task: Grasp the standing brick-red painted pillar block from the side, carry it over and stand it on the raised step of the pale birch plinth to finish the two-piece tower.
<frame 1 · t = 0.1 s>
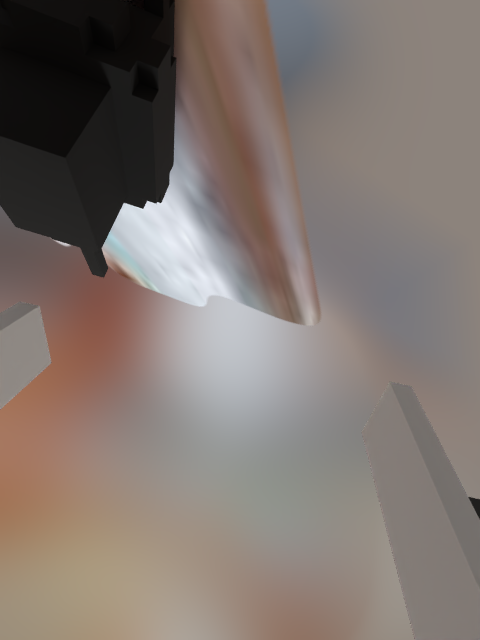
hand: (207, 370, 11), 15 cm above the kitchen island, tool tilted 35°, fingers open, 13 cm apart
toy: (128, 109, 19), on the kitchen island
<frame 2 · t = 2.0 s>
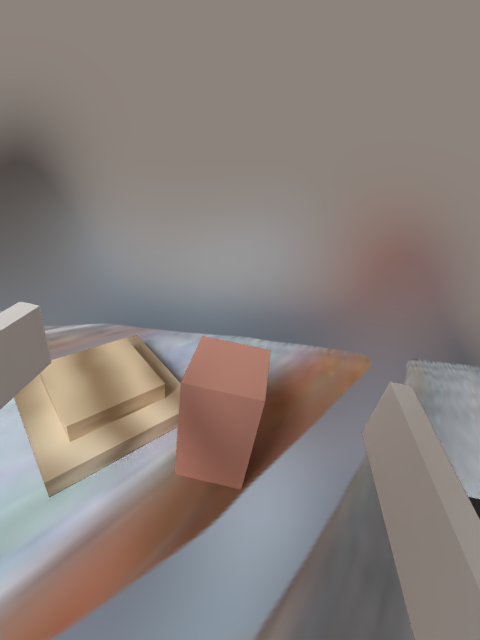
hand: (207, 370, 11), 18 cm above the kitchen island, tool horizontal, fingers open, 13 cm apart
plinth: (104, 402, 32), on the kitchen island
pillar: (215, 452, 29), on the kitchen island
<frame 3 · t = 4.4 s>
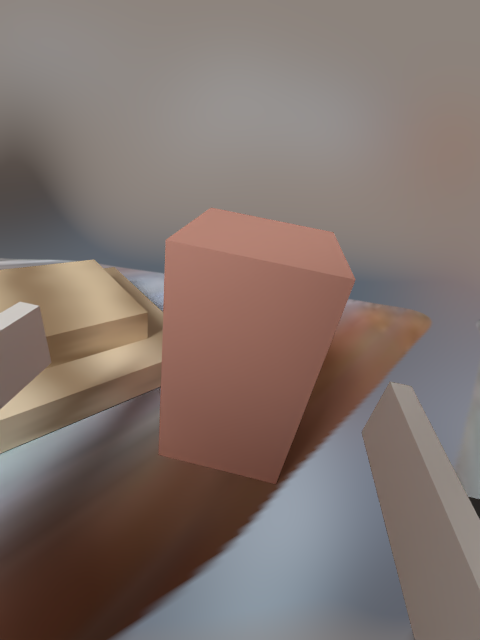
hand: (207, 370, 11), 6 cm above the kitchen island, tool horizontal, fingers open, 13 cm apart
plinth: (54, 346, 20), on the kitchen island
pillar: (228, 422, 18), on the kitchen island
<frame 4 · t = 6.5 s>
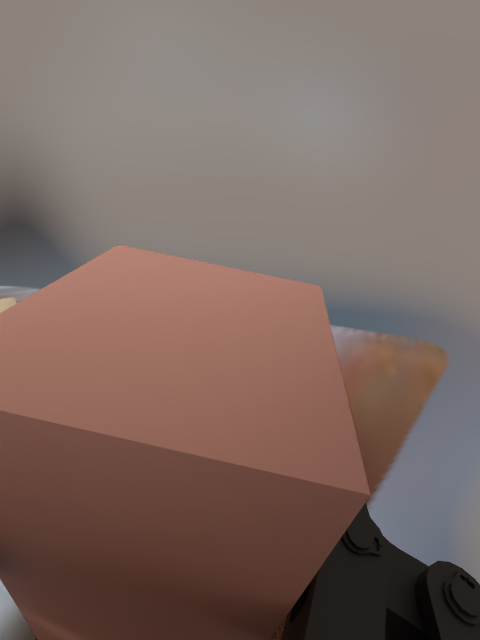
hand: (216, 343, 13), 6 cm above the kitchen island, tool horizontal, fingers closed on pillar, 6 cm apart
pillar: (168, 555, 12), on the kitchen island, touching gripper
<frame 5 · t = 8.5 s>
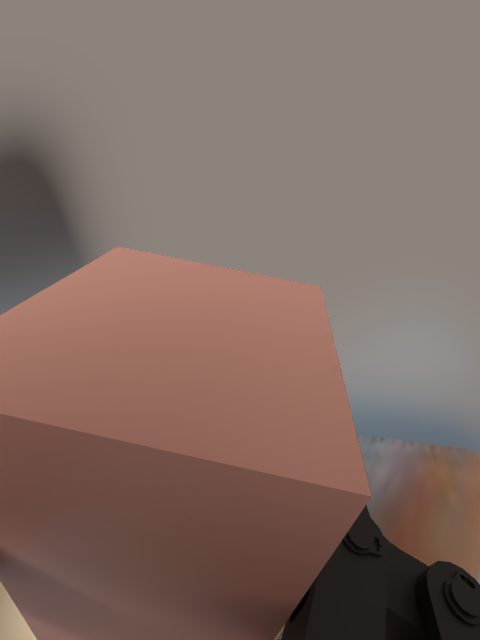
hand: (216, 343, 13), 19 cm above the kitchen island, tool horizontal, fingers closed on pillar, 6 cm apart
plinth: (135, 603, 19), on the kitchen island
pillar: (170, 557, 12), point 12 cm above the kitchen island, touching gripper
when the fingers open (12 cm above the kitchen island, at t = 10.4 s): pillar drops 1 cm, resting on plinth.
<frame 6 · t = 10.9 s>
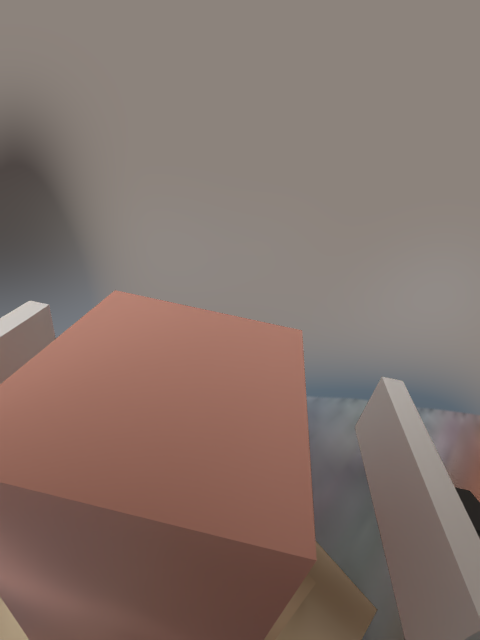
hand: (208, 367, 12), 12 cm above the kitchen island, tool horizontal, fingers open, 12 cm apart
plinth: (166, 598, 15), on the kitchen island
pillar: (162, 572, 12), point 4 cm above the kitchen island, touching plinth
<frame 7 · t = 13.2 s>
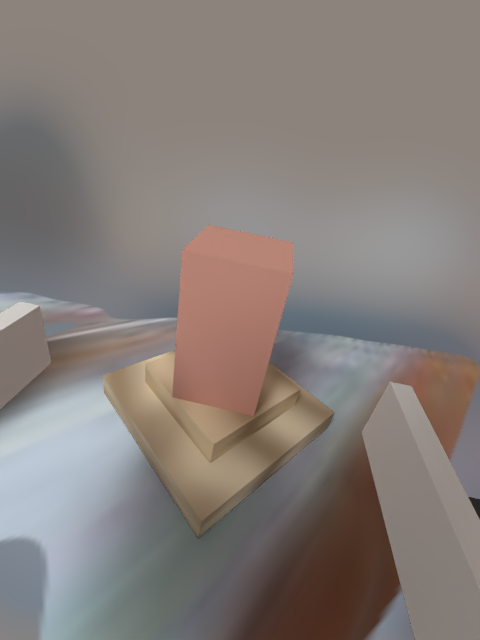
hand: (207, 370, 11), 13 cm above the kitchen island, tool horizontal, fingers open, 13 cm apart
plinth: (217, 410, 26), on the kitchen island
pillar: (220, 378, 24), point 4 cm above the kitchen island, touching plinth
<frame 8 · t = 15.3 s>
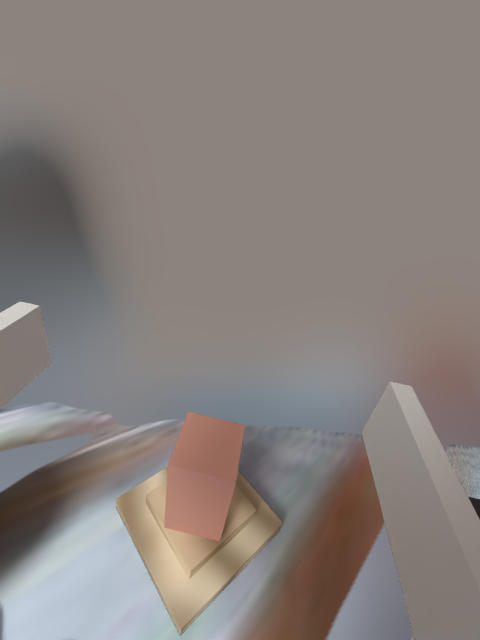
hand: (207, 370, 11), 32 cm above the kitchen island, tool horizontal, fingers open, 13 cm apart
plinth: (198, 519, 36), on the kitchen island
pillar: (199, 505, 34), point 4 cm above the kitchen island, touching plinth
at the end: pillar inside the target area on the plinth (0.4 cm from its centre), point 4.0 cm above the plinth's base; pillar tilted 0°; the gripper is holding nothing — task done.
